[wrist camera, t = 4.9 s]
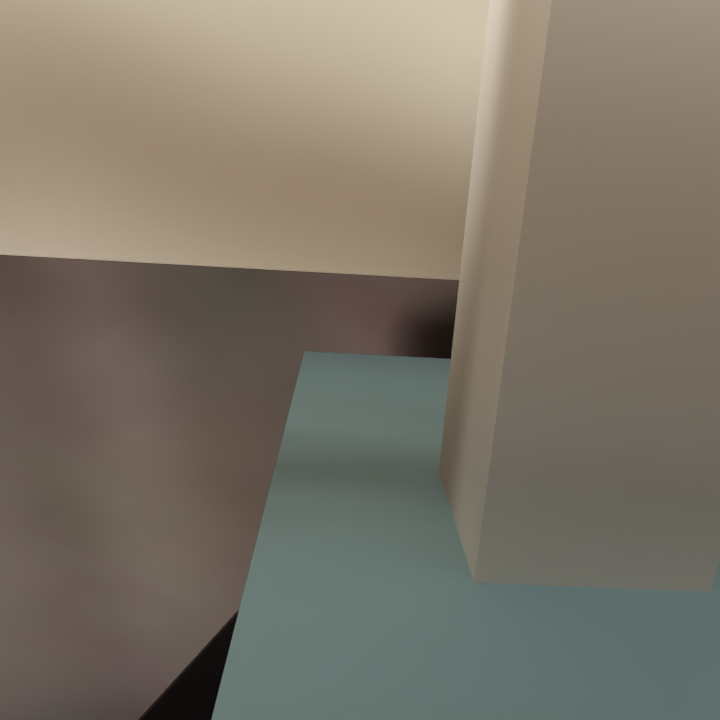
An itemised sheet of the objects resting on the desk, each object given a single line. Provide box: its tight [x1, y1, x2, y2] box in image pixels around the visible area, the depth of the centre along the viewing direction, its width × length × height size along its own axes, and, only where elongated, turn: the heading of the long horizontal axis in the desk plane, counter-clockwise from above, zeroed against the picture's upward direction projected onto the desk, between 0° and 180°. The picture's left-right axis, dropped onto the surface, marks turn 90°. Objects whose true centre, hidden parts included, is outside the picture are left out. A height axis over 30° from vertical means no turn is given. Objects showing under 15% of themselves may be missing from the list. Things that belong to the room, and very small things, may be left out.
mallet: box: [211, 0, 720, 720], centre depth 5 cm, size 11×4×6 cm, turn 177°
